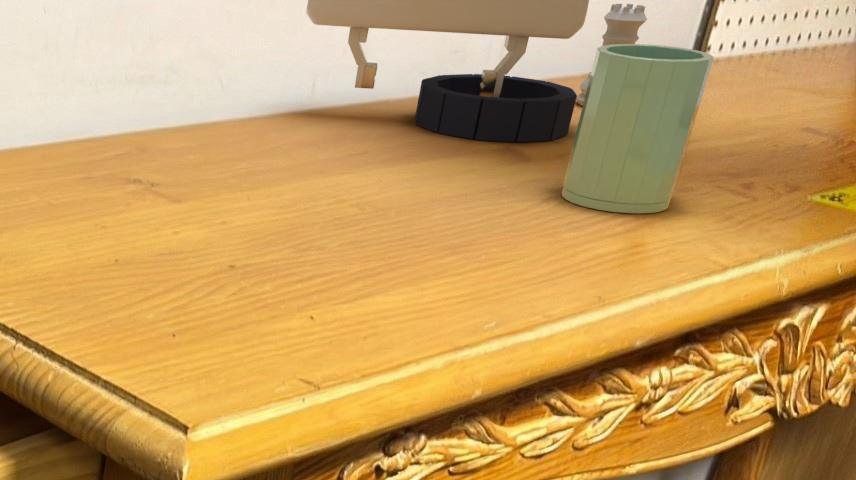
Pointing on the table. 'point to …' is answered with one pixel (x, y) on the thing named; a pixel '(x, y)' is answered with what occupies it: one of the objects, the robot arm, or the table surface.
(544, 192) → the table surface
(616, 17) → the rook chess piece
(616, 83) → the cup
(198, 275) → the table surface
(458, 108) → the ring
